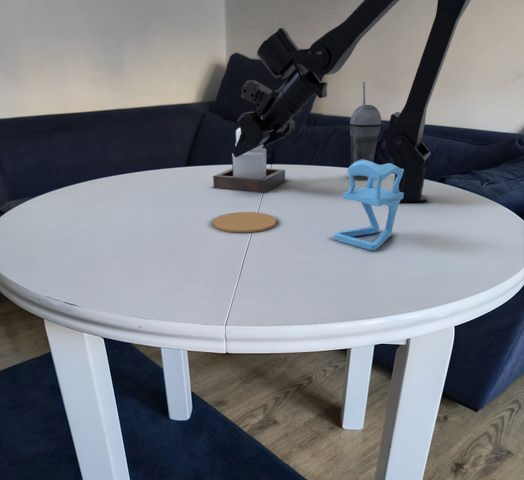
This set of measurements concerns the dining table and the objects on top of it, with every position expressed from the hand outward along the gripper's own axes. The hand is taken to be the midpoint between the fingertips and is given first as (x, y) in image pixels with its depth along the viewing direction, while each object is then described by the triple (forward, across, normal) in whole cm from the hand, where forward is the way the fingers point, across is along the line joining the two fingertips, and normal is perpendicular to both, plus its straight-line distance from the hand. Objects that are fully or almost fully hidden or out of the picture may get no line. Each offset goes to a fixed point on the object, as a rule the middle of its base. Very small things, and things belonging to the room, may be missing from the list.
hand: (243, 152), depth 107 cm
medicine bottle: (+4, 0, +6) cm, 7 cm away
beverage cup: (-12, -16, +21) cm, 29 cm away
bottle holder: (+4, 0, +6) cm, 7 cm away
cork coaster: (-5, +27, +14) cm, 31 cm away
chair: (-20, +28, +30) cm, 45 cm away
